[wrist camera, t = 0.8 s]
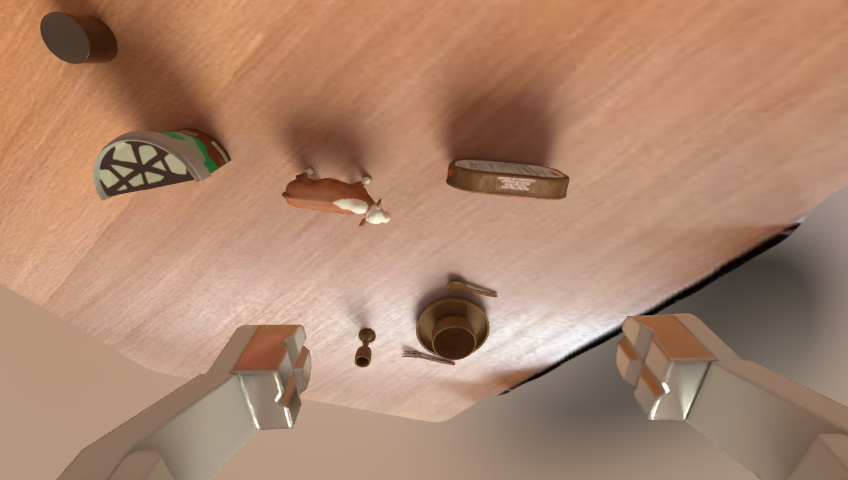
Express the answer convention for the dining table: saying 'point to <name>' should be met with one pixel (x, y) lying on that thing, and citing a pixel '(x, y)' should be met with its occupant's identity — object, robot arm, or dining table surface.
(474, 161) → the tin
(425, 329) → the place setting
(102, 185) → the food container
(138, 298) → the dining table surface
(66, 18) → the brown cylinder
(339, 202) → the bull figurine
